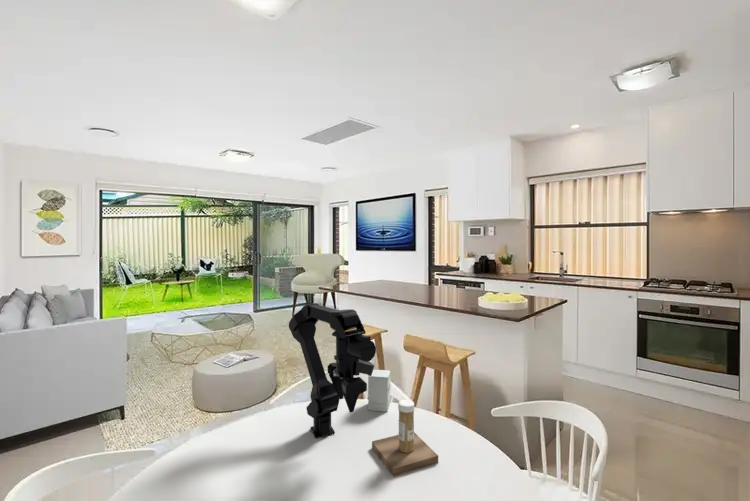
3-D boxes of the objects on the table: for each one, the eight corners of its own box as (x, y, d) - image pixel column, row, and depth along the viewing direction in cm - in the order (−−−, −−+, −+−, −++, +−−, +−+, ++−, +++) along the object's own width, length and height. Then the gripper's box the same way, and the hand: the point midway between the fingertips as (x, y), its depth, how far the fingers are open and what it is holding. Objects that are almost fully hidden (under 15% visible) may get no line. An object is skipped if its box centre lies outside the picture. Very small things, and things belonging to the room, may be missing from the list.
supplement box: (387, 412, 129) (387, 377, 128) (367, 410, 130) (367, 376, 130) (391, 403, 136) (391, 370, 136) (371, 401, 138) (371, 368, 137)
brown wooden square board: (372, 447, 107) (372, 441, 107) (413, 437, 113) (413, 430, 112) (393, 476, 94) (393, 468, 94) (438, 462, 100) (438, 455, 100)
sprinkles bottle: (415, 453, 101) (415, 406, 100) (399, 453, 101) (399, 406, 100) (412, 443, 105) (413, 398, 105) (397, 444, 105) (397, 399, 105)
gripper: (384, 358, 101) (384, 413, 101) (359, 341, 118) (360, 388, 118) (346, 364, 96) (346, 422, 97) (326, 345, 113) (327, 394, 114)
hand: (346, 405), depth 106 cm, fingers open, 9 cm apart
